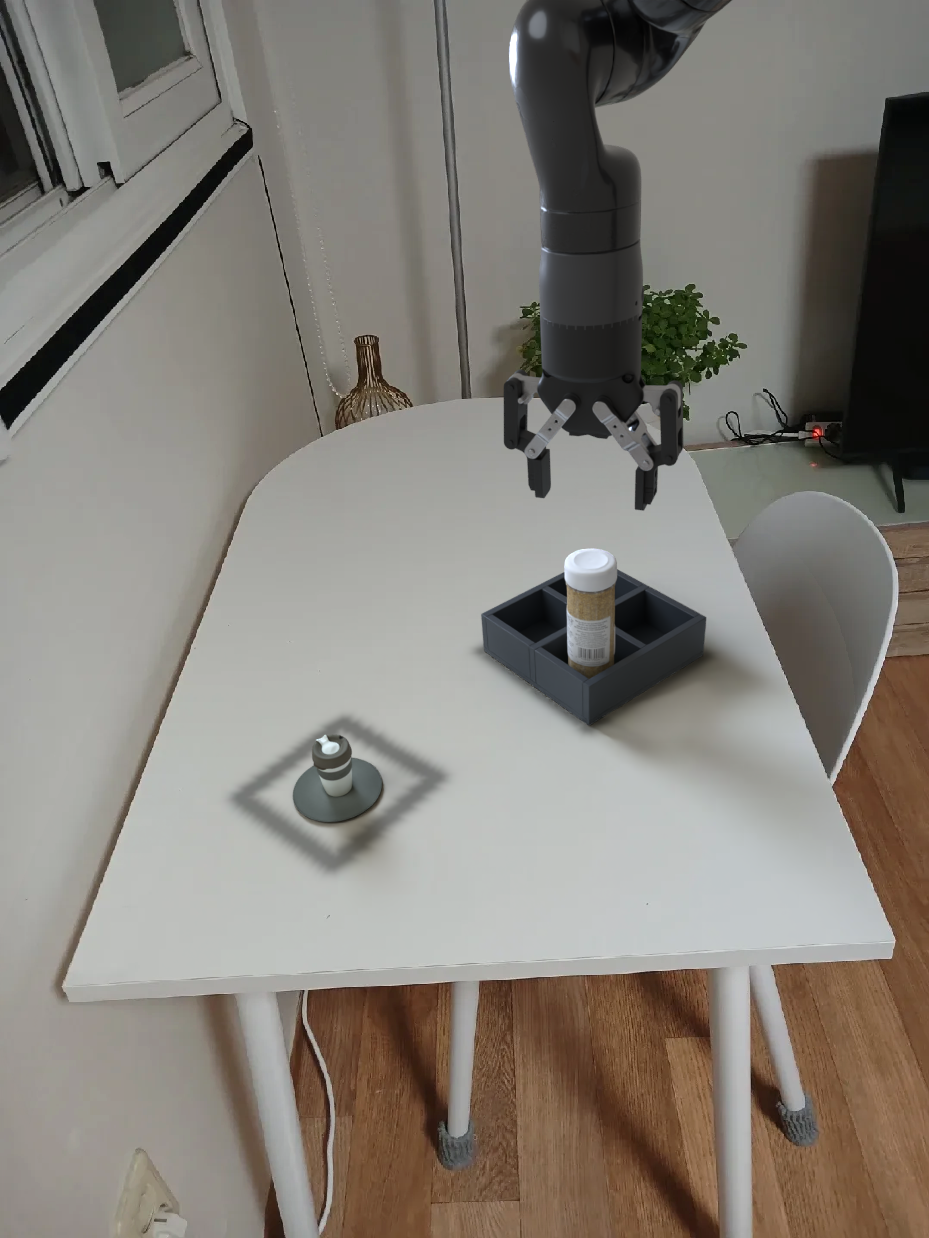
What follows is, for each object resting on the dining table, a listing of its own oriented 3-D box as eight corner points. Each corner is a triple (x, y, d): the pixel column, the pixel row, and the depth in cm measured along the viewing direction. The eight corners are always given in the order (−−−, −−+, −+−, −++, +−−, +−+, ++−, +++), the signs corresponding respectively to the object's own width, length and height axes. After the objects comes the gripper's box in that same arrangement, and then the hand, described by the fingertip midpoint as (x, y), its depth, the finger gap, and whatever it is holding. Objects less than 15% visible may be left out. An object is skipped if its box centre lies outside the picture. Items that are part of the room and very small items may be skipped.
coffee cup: (335, 863, 75) (325, 820, 73) (241, 797, 82) (228, 755, 79) (436, 776, 82) (431, 734, 80) (342, 722, 89) (334, 681, 86)
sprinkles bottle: (620, 670, 91) (623, 550, 84) (606, 699, 88) (608, 577, 80) (575, 661, 93) (573, 542, 85) (559, 689, 90) (557, 569, 82)
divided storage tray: (703, 655, 94) (706, 617, 91) (588, 725, 86) (589, 686, 84) (593, 592, 104) (594, 556, 101) (483, 650, 97) (480, 613, 94)
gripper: (482, 317, 70) (496, 511, 79) (676, 326, 65) (666, 532, 74) (517, 286, 76) (526, 471, 85) (698, 293, 70) (687, 489, 80)
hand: (591, 500), depth 80 cm, fingers open, 8 cm apart
